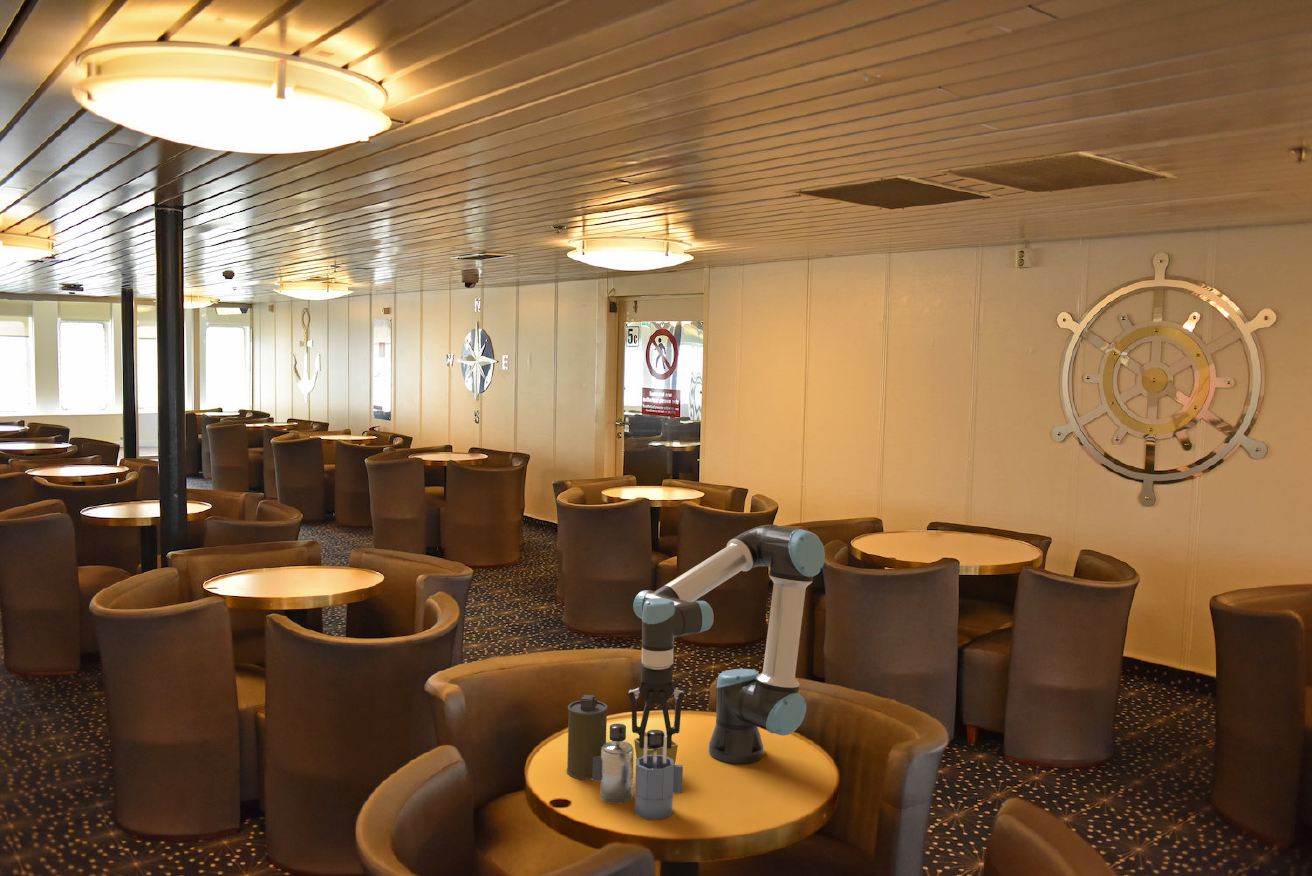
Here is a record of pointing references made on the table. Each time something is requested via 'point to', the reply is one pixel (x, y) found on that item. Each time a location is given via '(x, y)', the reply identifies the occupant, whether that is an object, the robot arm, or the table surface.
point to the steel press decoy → (615, 767)
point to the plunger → (655, 743)
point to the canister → (585, 735)
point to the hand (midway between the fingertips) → (654, 760)
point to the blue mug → (656, 787)
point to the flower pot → (670, 752)
